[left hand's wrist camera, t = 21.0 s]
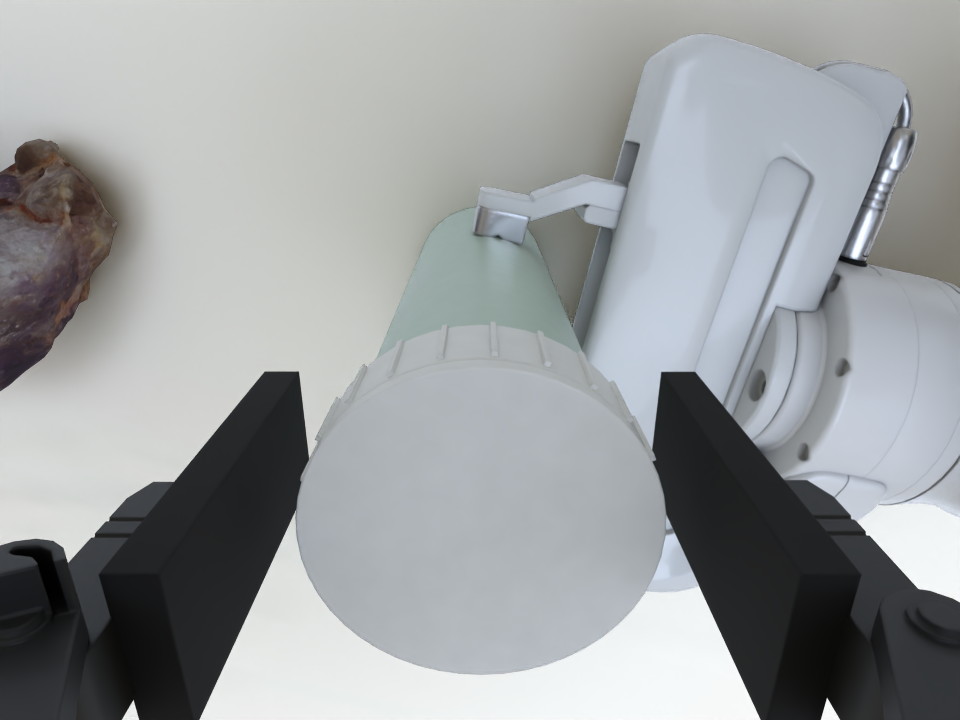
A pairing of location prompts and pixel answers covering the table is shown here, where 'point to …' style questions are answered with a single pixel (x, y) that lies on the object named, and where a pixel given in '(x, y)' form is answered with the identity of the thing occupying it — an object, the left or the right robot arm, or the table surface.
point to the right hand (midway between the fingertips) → (456, 304)
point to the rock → (45, 251)
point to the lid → (481, 502)
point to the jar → (479, 286)
